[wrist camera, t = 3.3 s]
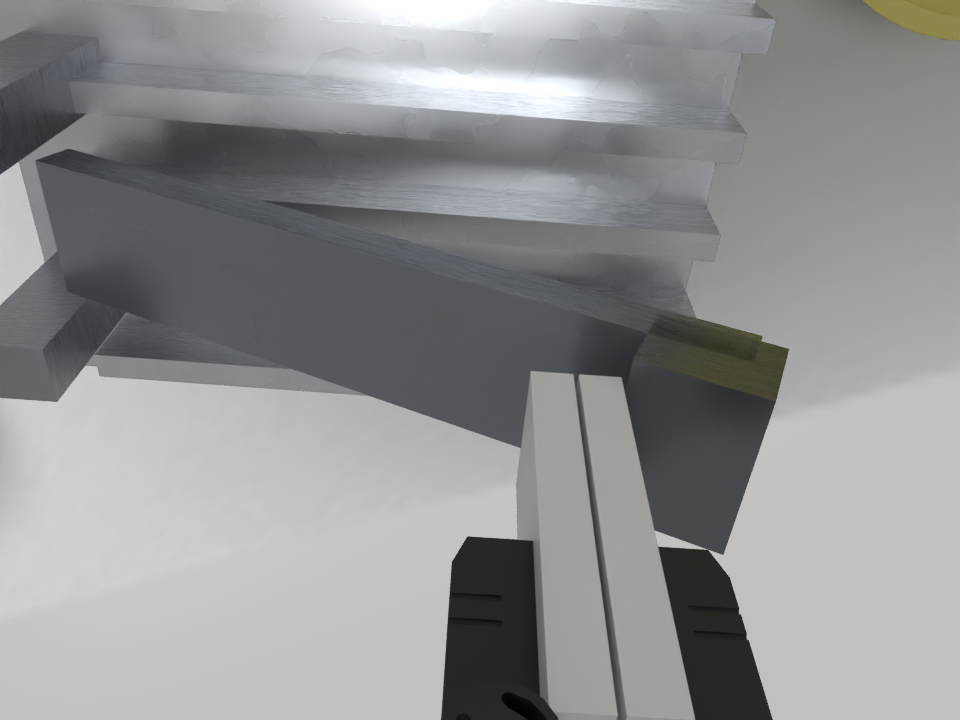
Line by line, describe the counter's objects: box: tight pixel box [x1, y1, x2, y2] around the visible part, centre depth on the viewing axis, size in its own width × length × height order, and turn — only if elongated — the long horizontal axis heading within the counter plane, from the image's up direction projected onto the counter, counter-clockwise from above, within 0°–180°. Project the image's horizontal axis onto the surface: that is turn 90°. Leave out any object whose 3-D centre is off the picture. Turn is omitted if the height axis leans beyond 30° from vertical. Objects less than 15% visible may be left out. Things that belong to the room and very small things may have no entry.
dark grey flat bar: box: [35, 149, 789, 554], centre depth 18 cm, size 18×4×2 cm, turn 86°
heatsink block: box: [0, 0, 776, 402], centre depth 24 cm, size 20×14×12 cm
